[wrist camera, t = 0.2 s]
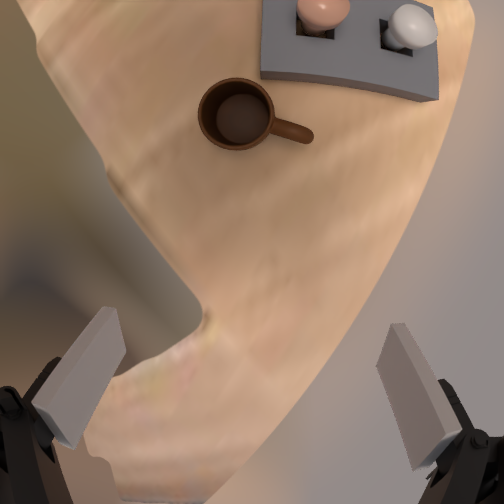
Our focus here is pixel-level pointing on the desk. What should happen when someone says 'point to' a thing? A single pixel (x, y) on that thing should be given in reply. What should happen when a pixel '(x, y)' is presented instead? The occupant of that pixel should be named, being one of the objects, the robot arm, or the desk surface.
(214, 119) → the mug
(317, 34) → the terracotta plug
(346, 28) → the panel
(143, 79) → the desk surface
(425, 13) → the grey plug
